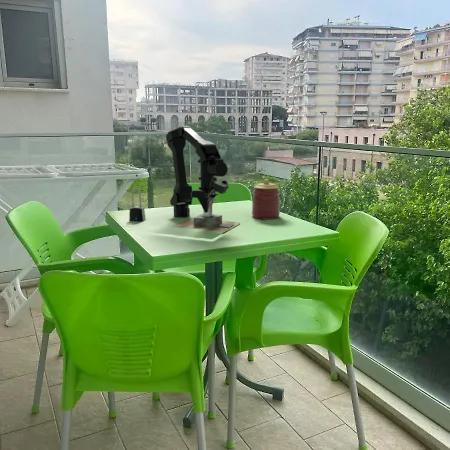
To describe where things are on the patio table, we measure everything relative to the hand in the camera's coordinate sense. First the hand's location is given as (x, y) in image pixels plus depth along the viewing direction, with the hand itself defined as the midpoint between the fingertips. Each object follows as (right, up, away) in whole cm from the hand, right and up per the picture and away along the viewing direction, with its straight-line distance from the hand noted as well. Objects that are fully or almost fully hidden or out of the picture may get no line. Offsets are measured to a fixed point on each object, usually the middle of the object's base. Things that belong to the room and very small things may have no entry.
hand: (207, 211), depth 174 cm
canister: (+26, -2, +21) cm, 34 cm away
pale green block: (0, -4, +1) cm, 4 cm away
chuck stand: (0, -6, +2) cm, 6 cm away
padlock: (-32, -4, +14) cm, 36 cm away
